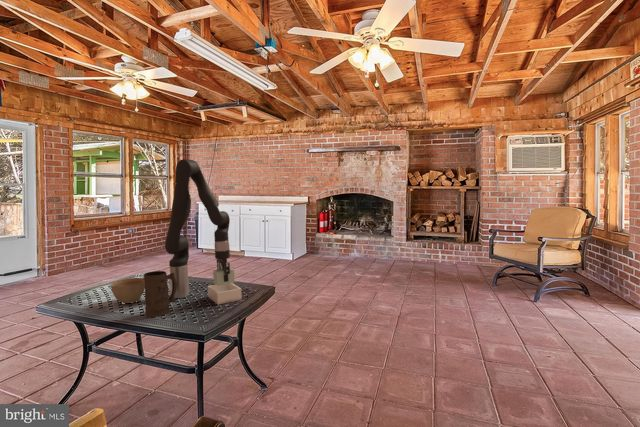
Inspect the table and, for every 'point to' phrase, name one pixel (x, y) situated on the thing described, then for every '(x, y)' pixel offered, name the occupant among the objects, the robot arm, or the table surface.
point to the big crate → (224, 293)
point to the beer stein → (158, 293)
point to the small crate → (222, 277)
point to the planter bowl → (128, 289)
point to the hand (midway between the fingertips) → (223, 280)
